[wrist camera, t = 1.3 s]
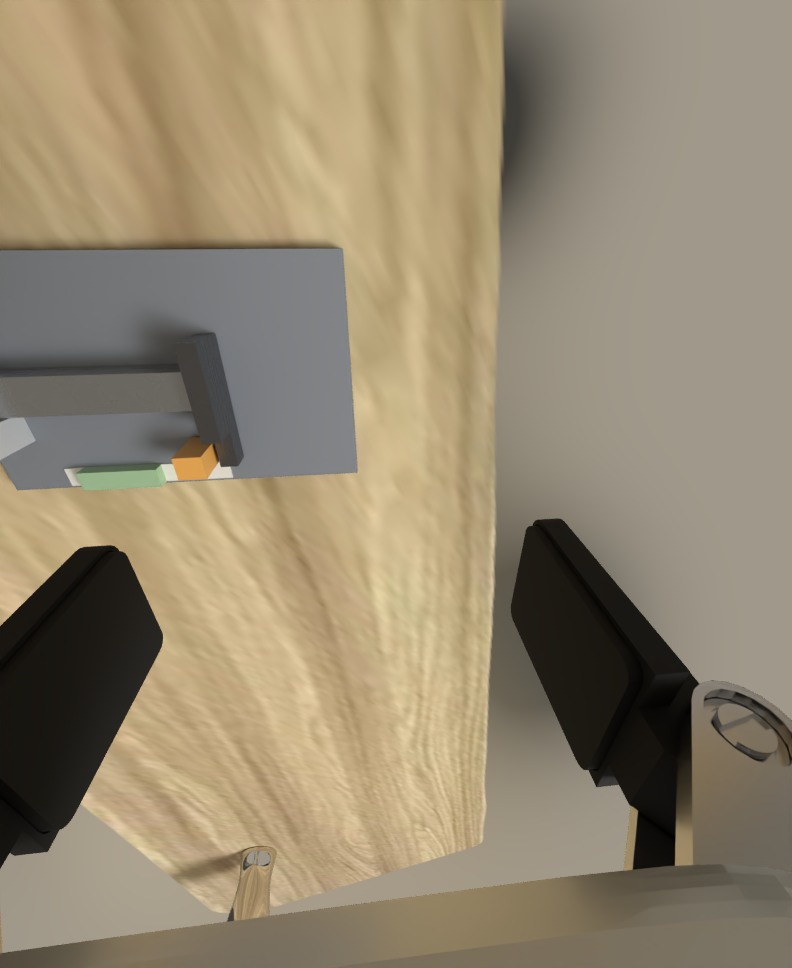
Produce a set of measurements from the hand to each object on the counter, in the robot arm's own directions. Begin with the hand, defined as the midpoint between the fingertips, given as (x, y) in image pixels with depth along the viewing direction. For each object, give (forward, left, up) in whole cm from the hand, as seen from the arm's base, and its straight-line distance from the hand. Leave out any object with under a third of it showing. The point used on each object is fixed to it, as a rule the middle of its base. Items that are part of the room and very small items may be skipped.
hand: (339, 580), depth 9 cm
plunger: (+1, -16, -19) cm, 25 cm away
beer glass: (+84, -22, -21) cm, 89 cm away
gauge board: (0, -12, -21) cm, 24 cm away
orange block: (+5, -11, -19) cm, 23 cm away
